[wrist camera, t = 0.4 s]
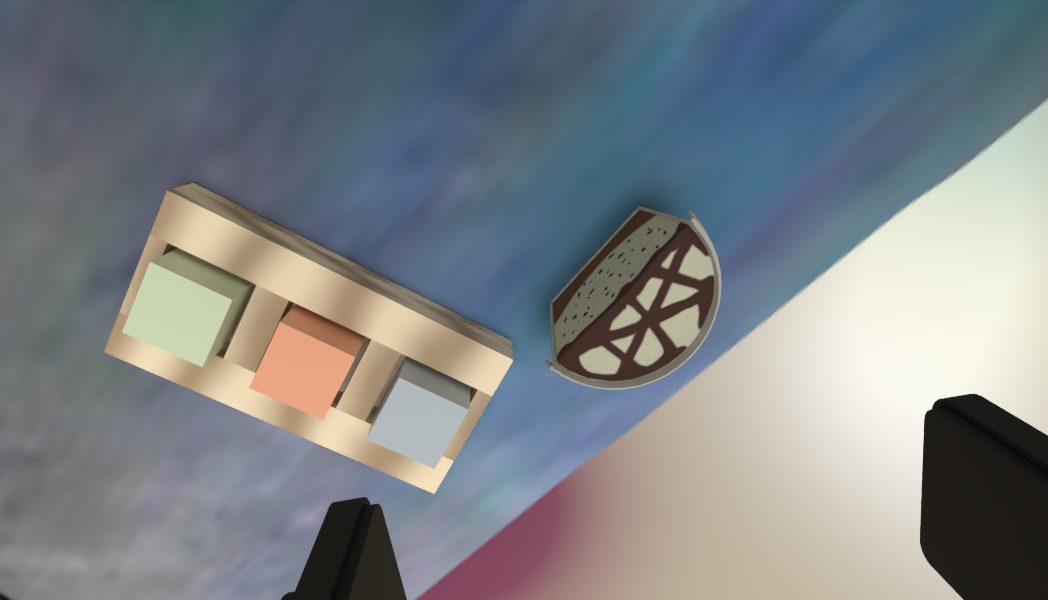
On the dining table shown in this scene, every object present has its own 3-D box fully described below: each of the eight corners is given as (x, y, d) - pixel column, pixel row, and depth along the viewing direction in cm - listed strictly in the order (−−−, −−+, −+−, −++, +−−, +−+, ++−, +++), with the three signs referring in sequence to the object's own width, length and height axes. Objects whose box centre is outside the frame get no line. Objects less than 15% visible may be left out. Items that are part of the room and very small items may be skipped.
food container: (596, 367, 47) (623, 436, 37) (535, 317, 45) (547, 376, 36) (714, 246, 44) (775, 286, 35) (653, 189, 43) (700, 215, 33)
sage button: (151, 313, 41) (121, 332, 38) (178, 247, 40) (149, 261, 36) (225, 345, 42) (202, 367, 39) (253, 283, 41) (232, 300, 37)
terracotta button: (267, 365, 43) (248, 387, 39) (296, 303, 41) (279, 321, 38) (335, 395, 44) (323, 420, 40) (365, 336, 42) (355, 357, 39)
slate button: (375, 413, 44) (365, 439, 41) (406, 355, 43) (399, 377, 40) (438, 441, 45) (434, 469, 42) (470, 386, 44) (469, 409, 41)
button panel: (132, 332, 44) (104, 351, 41) (193, 182, 41) (167, 190, 38) (437, 466, 49) (434, 493, 45) (511, 340, 46) (513, 360, 43)
